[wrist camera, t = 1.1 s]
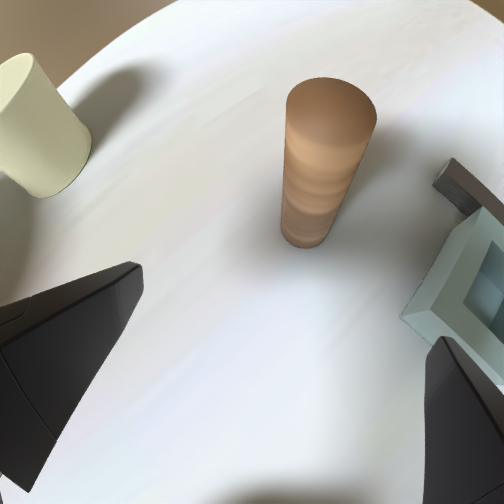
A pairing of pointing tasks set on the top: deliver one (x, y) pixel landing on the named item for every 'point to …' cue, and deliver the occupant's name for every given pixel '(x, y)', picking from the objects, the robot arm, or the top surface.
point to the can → (38, 130)
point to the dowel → (321, 154)
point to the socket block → (466, 293)
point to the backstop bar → (467, 191)
